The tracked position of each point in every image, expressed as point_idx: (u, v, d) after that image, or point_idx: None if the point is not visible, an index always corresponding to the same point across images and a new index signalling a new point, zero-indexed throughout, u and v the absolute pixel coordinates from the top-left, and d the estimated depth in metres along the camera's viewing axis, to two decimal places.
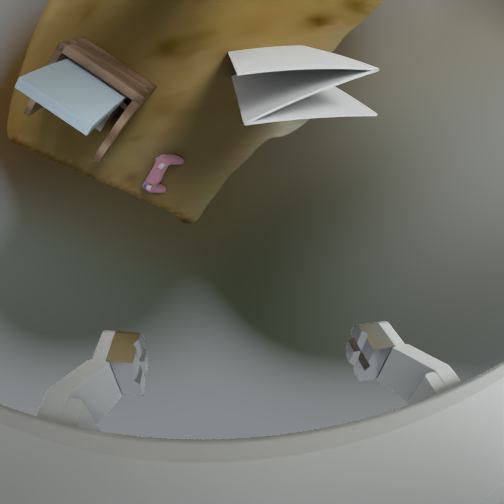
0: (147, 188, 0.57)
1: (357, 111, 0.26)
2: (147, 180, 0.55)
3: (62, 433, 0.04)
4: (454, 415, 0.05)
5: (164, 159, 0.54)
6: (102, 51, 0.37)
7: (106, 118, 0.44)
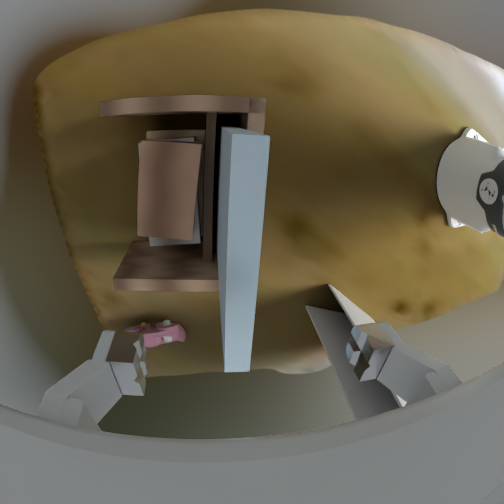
0: None
1: None
2: None
3: (62, 433, 0.04)
4: (454, 415, 0.05)
5: (176, 334, 0.40)
6: None
7: (174, 242, 0.32)
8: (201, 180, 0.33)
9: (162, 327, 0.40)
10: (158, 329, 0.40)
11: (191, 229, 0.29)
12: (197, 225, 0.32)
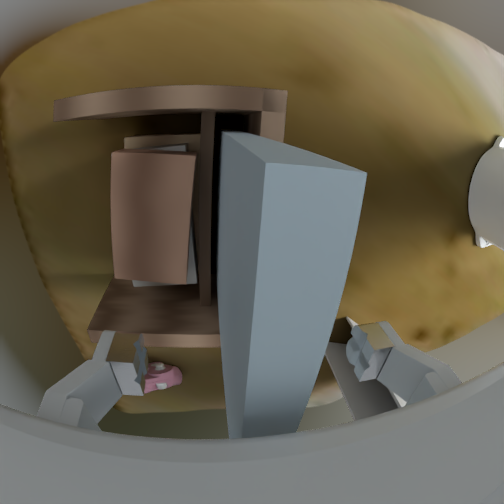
0: None
1: None
2: None
3: (62, 433, 0.04)
4: (454, 415, 0.05)
5: (171, 380, 0.33)
6: None
7: None
8: (196, 201, 0.25)
9: (154, 372, 0.32)
10: (150, 374, 0.32)
11: (184, 271, 0.22)
12: (192, 261, 0.24)
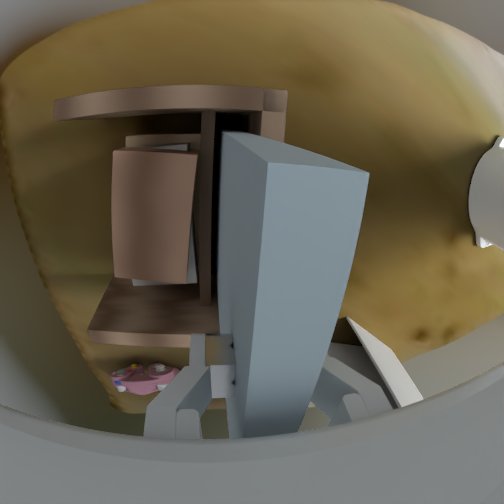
0: (118, 386, 0.32)
1: None
2: (128, 384, 0.31)
3: (62, 433, 0.04)
4: (454, 415, 0.05)
5: None
6: None
7: (164, 281, 0.25)
8: (197, 200, 0.25)
9: (155, 374, 0.32)
10: (151, 376, 0.32)
11: (184, 270, 0.22)
12: (192, 261, 0.24)
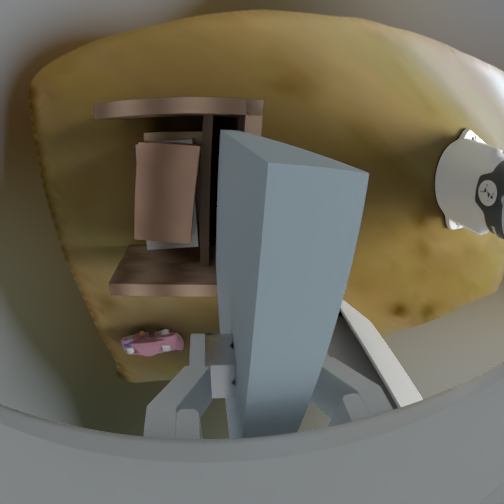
0: (127, 349, 0.39)
1: None
2: (137, 346, 0.38)
3: (62, 433, 0.04)
4: (454, 415, 0.05)
5: (175, 343, 0.40)
6: None
7: (172, 245, 0.32)
8: (199, 183, 0.32)
9: (161, 336, 0.40)
10: (157, 338, 0.39)
11: (189, 232, 0.29)
12: (195, 228, 0.31)
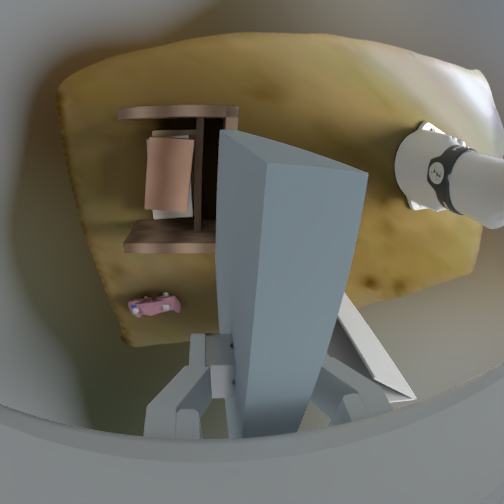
0: (133, 309, 0.48)
1: None
2: (142, 305, 0.48)
3: (62, 433, 0.04)
4: (454, 415, 0.05)
5: (173, 303, 0.49)
6: None
7: (172, 216, 0.41)
8: (194, 168, 0.41)
9: (161, 298, 0.49)
10: (158, 299, 0.49)
11: (186, 203, 0.38)
12: (190, 202, 0.41)
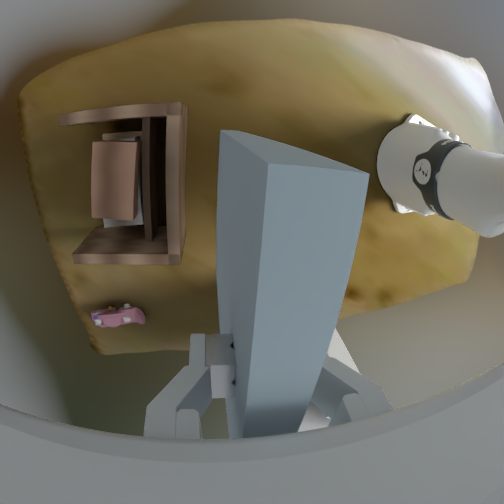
0: (95, 321, 0.44)
1: None
2: (103, 317, 0.44)
3: (62, 433, 0.04)
4: (454, 415, 0.05)
5: (134, 316, 0.45)
6: (185, 147, 0.38)
7: (123, 223, 0.37)
8: None
9: (122, 309, 0.45)
10: (119, 311, 0.45)
11: (131, 211, 0.34)
12: (140, 209, 0.36)
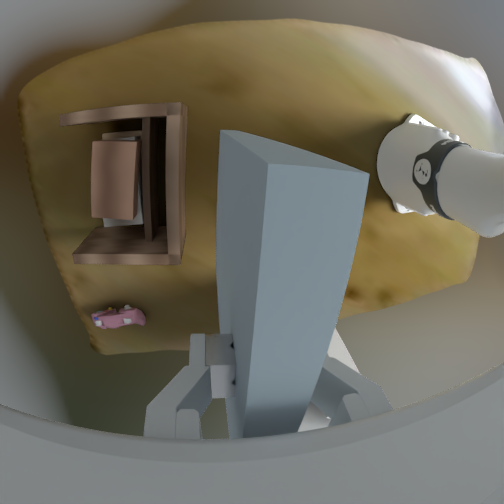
0: (96, 322, 0.44)
1: None
2: (103, 318, 0.44)
3: (62, 433, 0.04)
4: (454, 415, 0.05)
5: (134, 317, 0.46)
6: (185, 147, 0.38)
7: (123, 223, 0.37)
8: None
9: (123, 310, 0.45)
10: (119, 312, 0.45)
11: (131, 211, 0.34)
12: (140, 208, 0.36)
